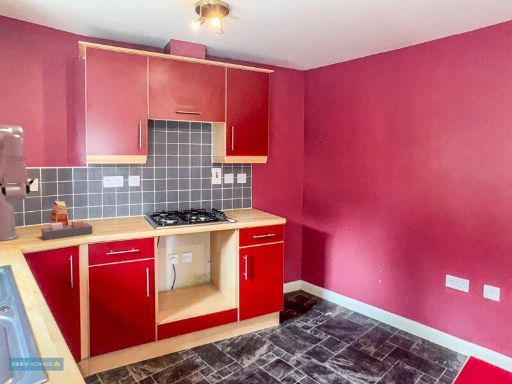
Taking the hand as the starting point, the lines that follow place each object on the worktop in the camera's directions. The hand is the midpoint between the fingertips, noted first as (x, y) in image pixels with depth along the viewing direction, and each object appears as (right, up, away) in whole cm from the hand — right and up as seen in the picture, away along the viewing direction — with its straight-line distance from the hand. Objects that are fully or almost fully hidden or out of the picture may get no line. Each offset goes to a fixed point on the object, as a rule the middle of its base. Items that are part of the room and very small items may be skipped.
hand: (16, 194), depth 184 cm
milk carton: (-9, -24, +59) cm, 64 cm away
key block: (+2, -25, +45) cm, 52 cm away
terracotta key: (+7, -22, +49) cm, 54 cm away
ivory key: (-2, -23, +41) cm, 47 cm away
